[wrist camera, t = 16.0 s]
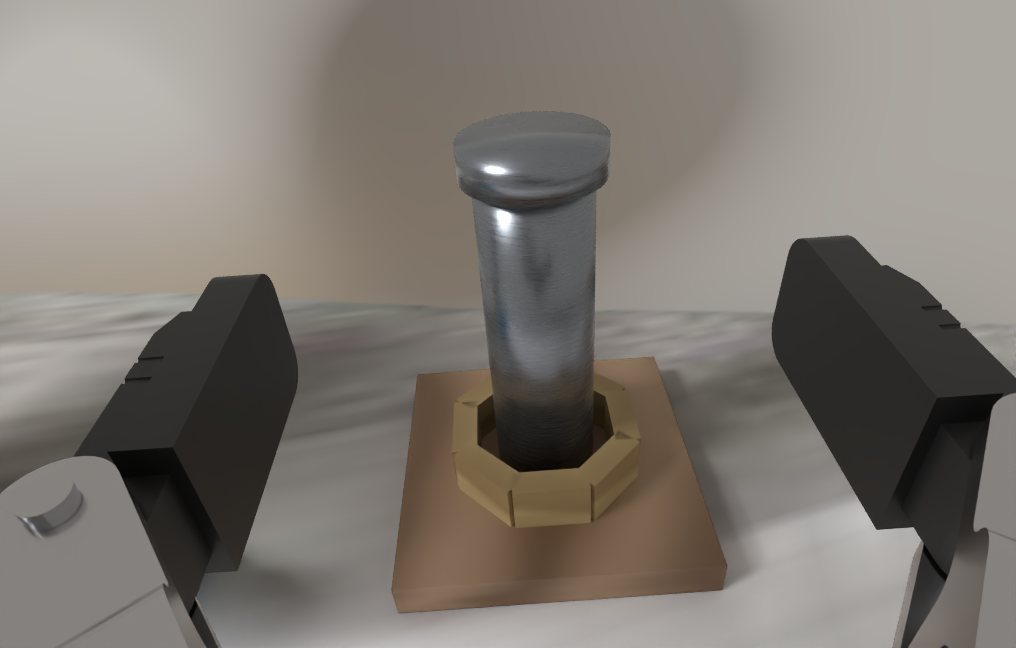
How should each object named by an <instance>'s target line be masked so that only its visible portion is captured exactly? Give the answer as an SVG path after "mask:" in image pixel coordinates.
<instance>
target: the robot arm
mask: <svg viewBox="0 0 1016 648" xmlns="http://www.w3.org/2000/svg"><path fill="white" fill-rule="evenodd" d="M960 324H961V323H960V322H959V321H958V320H956V318H955V317H954V316H952V314H950V313H949V312H948V311H947V310H942V305H941V304H940V303H939V302H938V301H937V300H936V299H935V298H934V297H933V296H932V295H931V294H930V293H929V292H928V291H927V290H926V289H925V288H924V287H923V286H922V285H921V284H920V283H919V282H917V281H915V280H913V279H911V278H910V277H908V276H906V275H904V274H902V273H900V272H898V271H897V270H895V269H893V268H891V267H889V266H887V265H884V266H881V265H880V264H879V263H878V262H877V261H876V260H875V259H874V258H873V257H872V256H871V254H869V253H868V251H867V250H866V249H865V248H864V247H863V246H862V245H861V244H860V243H859V242H858V241H857V240H856V239H855V238H853V237H852V236H848V235H847V236H833V237H818V238H802V239H797V240H796V241H795V242H794V243H793V244H792V246H791V248H790V250H789V254H788V257H787V262H786V266H785V271H784V275H783V279H782V283H781V287H780V292H779V296H778V300H777V305H776V309H775V313H774V317H773V322H772V342H773V348H774V352H775V355H776V358H777V360H778V362H779V364H780V365H781V367H782V369H783V370H784V372H785V374H786V376H787V377H788V379H789V381H790V382H791V384H792V386H793V387H794V389H795V391H796V393H797V394H798V396H799V398H800V399H801V401H802V403H803V405H804V406H805V408H806V410H807V411H808V413H809V415H810V417H811V418H812V420H813V422H814V423H815V425H816V427H817V429H818V430H819V432H820V434H821V435H822V437H823V439H824V441H825V442H826V444H827V446H828V447H829V449H830V451H831V453H832V454H833V456H834V458H835V459H836V461H837V463H838V465H839V466H840V468H841V470H842V471H843V473H844V475H845V476H846V478H847V480H848V482H849V483H850V485H851V487H852V488H853V490H854V492H855V494H856V495H857V497H858V499H859V500H860V502H861V504H862V506H863V507H864V509H865V511H866V512H867V514H868V516H869V518H870V519H871V521H872V523H873V524H874V526H875V528H876V530H880V529H894V528H909V527H914V529H915V530H916V532H917V533H918V535H919V537H920V538H921V540H922V541H921V542H920V544H919V546H918V548H917V550H916V552H915V555H914V557H913V562H912V566H911V570H910V574H909V579H908V583H907V587H906V592H905V596H904V600H903V604H902V609H901V613H900V617H899V622H898V626H897V630H896V634H895V639H894V643H893V647H892V648H1016V378H1015V377H1014V376H1013V375H1012V374H1011V373H1010V372H1009V371H1008V370H1007V369H1006V368H1005V367H1004V366H1003V365H1002V364H1001V363H1000V362H999V361H998V360H997V359H996V358H995V357H994V356H993V355H992V354H991V353H990V352H989V351H988V350H987V349H986V348H985V347H984V346H983V345H982V344H981V343H980V342H979V341H978V340H977V339H976V338H975V337H974V336H973V335H972V334H971V333H970V332H969V331H968V330H967V329H966V328H961V327H960ZM297 382H298V367H297V359H296V354H295V350H294V347H293V344H292V341H291V338H290V335H289V332H288V329H287V326H286V322H285V319H284V316H283V313H282V310H281V307H280V304H279V301H278V297H277V294H276V291H275V288H274V286H273V283H272V281H271V280H270V278H269V277H268V276H267V275H265V274H256V275H242V276H226V277H215V278H213V279H212V280H211V281H210V282H209V284H208V285H207V287H206V289H205V290H204V292H203V293H202V295H201V297H200V298H199V300H198V302H197V303H196V305H195V307H194V308H193V310H192V311H188V312H181V313H179V314H178V315H177V316H176V317H174V318H173V319H172V320H171V321H169V322H168V323H167V324H166V325H164V326H163V327H162V328H161V329H159V330H158V331H157V332H156V333H154V334H153V336H152V337H151V339H150V341H149V342H148V344H147V345H146V347H145V348H144V350H143V351H142V353H141V354H140V356H139V357H138V363H134V365H133V367H132V368H131V370H130V371H129V373H128V374H127V376H126V377H125V384H121V385H120V386H119V388H118V389H117V391H116V392H115V394H114V396H113V397H112V399H111V400H110V402H109V403H108V405H107V406H106V408H105V409H104V411H103V412H102V414H101V415H100V417H99V418H98V420H97V422H96V423H95V425H94V426H93V428H92V429H91V431H90V432H89V434H88V435H87V437H86V438H85V440H84V441H83V443H82V444H81V446H80V448H79V449H78V451H77V452H76V454H75V455H74V457H71V458H67V459H62V460H59V461H56V462H53V463H50V464H47V465H45V466H43V467H40V468H38V469H36V470H34V471H32V472H30V473H28V474H26V475H25V476H23V477H22V478H20V479H19V480H17V481H15V482H14V483H13V484H11V485H10V486H9V487H7V488H6V489H5V490H4V491H3V492H2V493H0V648H221V646H220V644H219V642H218V639H217V637H216V635H215V633H214V631H213V629H212V627H211V625H210V623H209V620H208V618H207V616H206V614H205V612H204V610H203V608H202V606H201V604H200V602H199V601H198V599H197V597H196V595H197V592H198V590H199V587H200V584H201V581H202V579H203V576H204V573H211V572H226V571H238V568H239V565H240V561H241V558H242V555H243V552H244V549H245V546H246V543H247V540H248V537H249V534H250V531H251V528H252V525H253V522H254V519H255V515H256V512H257V509H258V506H259V503H260V500H261V497H262V494H263V491H264V488H265V485H266V482H267V479H268V476H269V473H270V470H271V466H272V463H273V460H274V457H275V454H276V451H277V448H278V445H279V442H280V439H281V436H282V433H283V430H284V427H285V424H286V421H287V417H288V414H289V411H290V408H291V405H292V402H293V399H294V396H295V393H296V389H297Z"/></svg>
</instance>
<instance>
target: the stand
mask: <svg viewBox="0 0 1016 648" xmlns="http://www.w3.org/2000/svg"><path fill="white" fill-rule="evenodd" d="M726 569H727V564H726V561H725V558H724V555H723V553H722V550H721V547H720V544H719V541H718V538H717V535H716V533H715V530H714V527H713V524H712V521H711V518H710V515H709V513H708V510H707V507H706V504H705V501H704V498H703V495H702V493H701V490H700V487H699V484H698V481H697V478H696V475H695V473H694V470H693V467H692V464H691V461H690V458H689V455H688V453H687V450H686V447H685V444H684V441H683V438H682V435H681V433H680V430H679V427H678V424H677V421H676V418H675V415H674V413H673V410H672V407H671V404H670V401H669V398H668V395H667V393H666V390H665V387H664V384H663V381H662V378H661V375H660V373H659V370H658V367H657V364H656V361H655V358H654V357H643V358H629V359H616V360H603V361H594V398H593V455H592V456H591V457H590V458H589V459H588V460H587V461H586V462H585V463H584V464H583V465H582V466H581V467H580V468H574V469H560V470H546V471H533V472H518V471H516V470H515V469H513V468H512V467H510V466H509V465H507V464H506V463H504V462H503V461H501V460H500V457H499V448H498V438H497V429H496V420H495V410H494V401H493V391H492V382H491V373H490V369H484V370H471V371H458V372H445V373H432V374H419V375H418V376H417V385H416V393H415V401H414V409H413V417H412V426H411V434H410V442H409V450H408V458H407V467H406V475H405V483H404V491H403V499H402V508H401V516H400V524H399V532H398V540H397V549H396V557H395V565H394V573H393V581H392V593H393V597H394V600H395V603H396V607H397V610H398V613H408V612H422V611H436V610H450V609H464V608H478V607H492V606H506V605H520V604H534V603H548V602H562V601H576V600H590V599H604V598H618V597H632V596H646V595H660V594H674V593H688V592H702V591H716V590H722V588H723V583H724V578H725V574H726Z"/></svg>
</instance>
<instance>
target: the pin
mask: <svg viewBox="0 0 1016 648" xmlns="http://www.w3.org/2000/svg"><path fill="white" fill-rule="evenodd" d="M610 135H611V134H610V131H609V129H608V128H607V127H606V126H605V125H604V124H603V123H601V122H599V121H597V120H595V119H593V118H590V117H587V116H583V115H578V114H573V113H566V112H553V111H552V112H551V111H533V112H520V113H512V114H506V115H501V116H496V117H492V118H488V119H485V120H482V121H479V122H477V123H474V124H472V125H470V126H468V127H466V128H465V129H463V130H462V131H460V132H459V133H458V134H457V135H456V137H455V138H454V141H453V149H454V157H455V166H456V174H457V182H458V185H459V188H460V189H461V190H462V191H463V192H464V193H465V194H467V195H468V196H470V197H472V203H473V213H474V222H475V231H476V241H477V250H478V260H479V269H480V279H481V288H482V297H483V307H484V316H485V326H486V335H487V344H488V354H489V363H490V373H491V382H492V391H493V401H494V410H495V420H496V429H497V438H498V448H499V457H500V460H501V461H503V462H504V463H506V464H507V465H509V466H510V467H512V468H513V469H515V470H516V471H518V472H533V471H546V470H560V469H574V468H580V467H581V466H582V465H583V464H584V463H585V462H586V461H587V460H588V459H589V458H590V457H591V456H592V455H593V398H594V326H595V252H596V250H595V248H596V190H598V189H599V188H601V187H602V186H603V185H604V184H605V183H606V181H607V180H608V177H609V172H610Z"/></svg>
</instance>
